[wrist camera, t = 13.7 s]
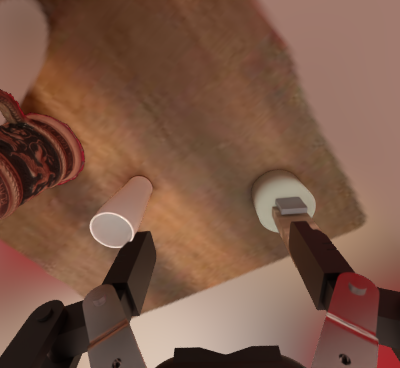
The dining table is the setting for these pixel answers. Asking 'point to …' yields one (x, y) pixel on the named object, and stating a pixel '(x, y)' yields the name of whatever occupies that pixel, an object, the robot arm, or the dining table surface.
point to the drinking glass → (122, 213)
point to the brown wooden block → (286, 219)
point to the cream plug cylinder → (280, 196)
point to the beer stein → (33, 155)
